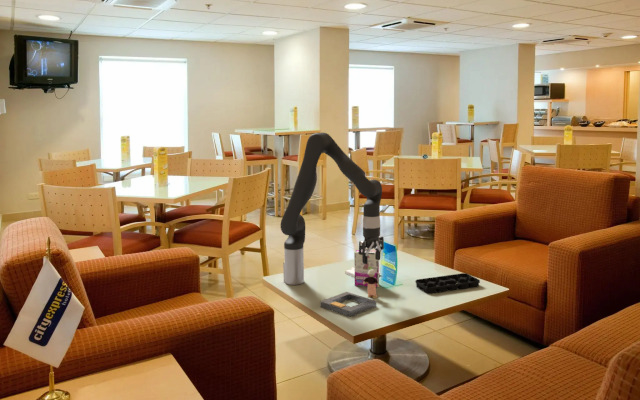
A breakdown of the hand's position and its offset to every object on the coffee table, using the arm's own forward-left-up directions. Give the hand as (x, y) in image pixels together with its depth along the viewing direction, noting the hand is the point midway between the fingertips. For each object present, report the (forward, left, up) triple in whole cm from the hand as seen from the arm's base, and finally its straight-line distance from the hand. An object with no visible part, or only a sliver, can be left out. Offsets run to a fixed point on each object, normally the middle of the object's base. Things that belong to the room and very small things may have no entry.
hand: (371, 261), depth 241 cm
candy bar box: (-12, +11, -16) cm, 23 cm away
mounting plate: (-24, +22, -17) cm, 37 cm away
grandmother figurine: (0, 0, -16) cm, 16 cm away
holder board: (+1, -16, -16) cm, 23 cm away
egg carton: (+17, +35, -17) cm, 42 cm away
